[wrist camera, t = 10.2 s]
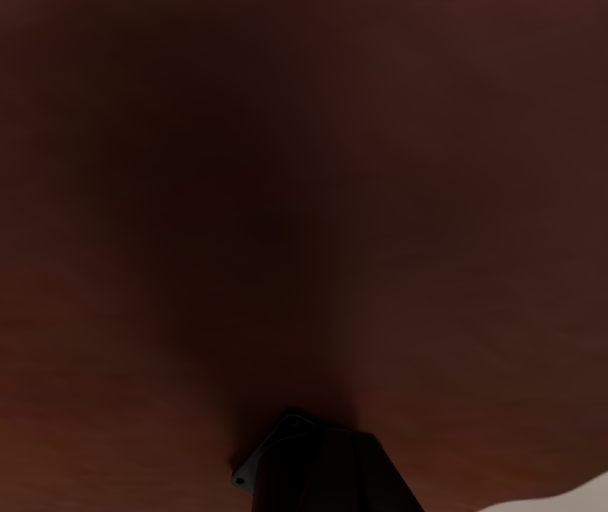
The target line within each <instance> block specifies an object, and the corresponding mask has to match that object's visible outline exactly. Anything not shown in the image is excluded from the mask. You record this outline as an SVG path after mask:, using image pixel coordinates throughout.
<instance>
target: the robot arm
mask: <svg viewBox="0 0 608 512" xmlns="http://www.w3.org/2000/svg"><path fill="white" fill-rule="evenodd" d="M290 418H296V419H290ZM231 482H232V483H233V484H234V485H235V486H237V487H239V488H242V489H244V490H246V491H248V492H251V493H253V500H252V509H251V512H425V511H424V510H423V508H422V507H421V505H420V504H419V502H418V501H417V499H416V498H415V496H414V495H413V493H412V492H411V490H410V489H409V487H408V486H407V484H406V483H405V481H404V480H403V478H402V477H401V475H400V474H399V472H398V471H397V469H396V468H395V466H394V465H393V463H392V462H391V460H390V458H389V457H388V455H387V454H386V452H385V451H384V449H383V448H382V446H381V445H380V443H379V442H378V440H377V439H376V437H375V436H374V435H373V434H371V433H368V432H360V431H352V432H351V433H350V432H349V431H348V430H345V429H337V428H333V427H331V426H329V425H327V424H325V423H323V422H321V421H319V420H317V419H315V418H313V417H311V416H309V415H307V414H305V413H303V412H301V411H299V410H297V409H289V410H287V411H285V412H284V414H283V415H282V416H281V417H280V418H279V419H278V421H277V422H276V423H275V424H274V425H273V426H272V427H271V429H270V430H269V431H268V432H267V433H266V434H265V435H264V437H263V438H262V439H261V440H260V441H259V442H258V444H257V445H256V446H255V447H254V448H253V449H252V450H251V452H250V453H249V454H248V455H247V456H246V457H245V459H244V460H243V461H242V462H241V463H240V464H239V465H238V467H237V468H236V469H235V470H234V471H233V473H232V478H231Z"/></svg>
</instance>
